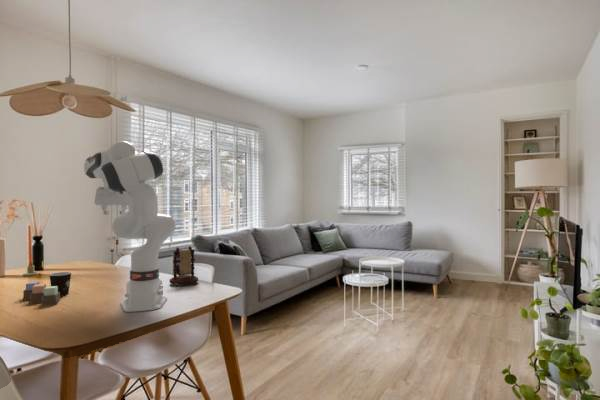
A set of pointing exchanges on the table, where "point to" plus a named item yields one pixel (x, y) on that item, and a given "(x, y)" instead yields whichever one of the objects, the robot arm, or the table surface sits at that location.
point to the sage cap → (50, 290)
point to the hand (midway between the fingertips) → (114, 214)
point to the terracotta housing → (36, 297)
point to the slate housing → (26, 294)
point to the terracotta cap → (38, 288)
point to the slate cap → (31, 285)
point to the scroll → (184, 267)
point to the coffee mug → (61, 282)
